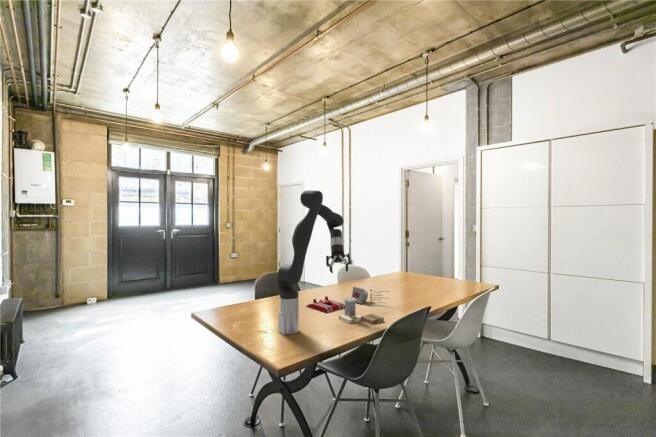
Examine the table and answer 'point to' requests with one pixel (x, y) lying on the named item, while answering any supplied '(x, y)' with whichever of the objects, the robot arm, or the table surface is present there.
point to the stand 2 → (372, 318)
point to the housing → (350, 307)
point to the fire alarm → (326, 305)
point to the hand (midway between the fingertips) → (339, 272)
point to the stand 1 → (350, 319)
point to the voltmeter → (363, 295)
